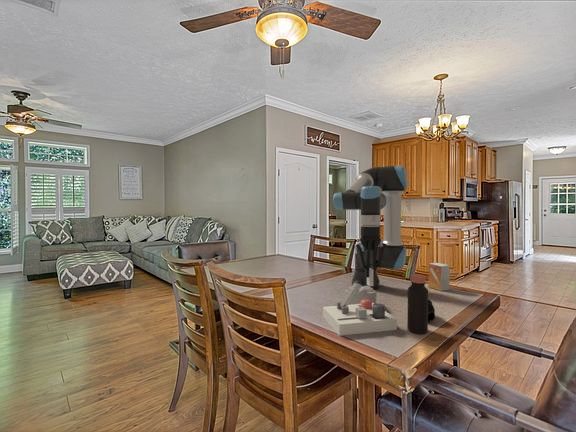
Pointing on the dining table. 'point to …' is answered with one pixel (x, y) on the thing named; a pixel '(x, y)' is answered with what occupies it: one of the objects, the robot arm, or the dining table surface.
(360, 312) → the slider knob
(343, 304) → the lever
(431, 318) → the fried shrimp in bowl
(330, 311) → the panel
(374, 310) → the button black
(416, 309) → the bottle
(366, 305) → the button red
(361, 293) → the lumpy-topped squat cylinder
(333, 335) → the dining table surface
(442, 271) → the small box
